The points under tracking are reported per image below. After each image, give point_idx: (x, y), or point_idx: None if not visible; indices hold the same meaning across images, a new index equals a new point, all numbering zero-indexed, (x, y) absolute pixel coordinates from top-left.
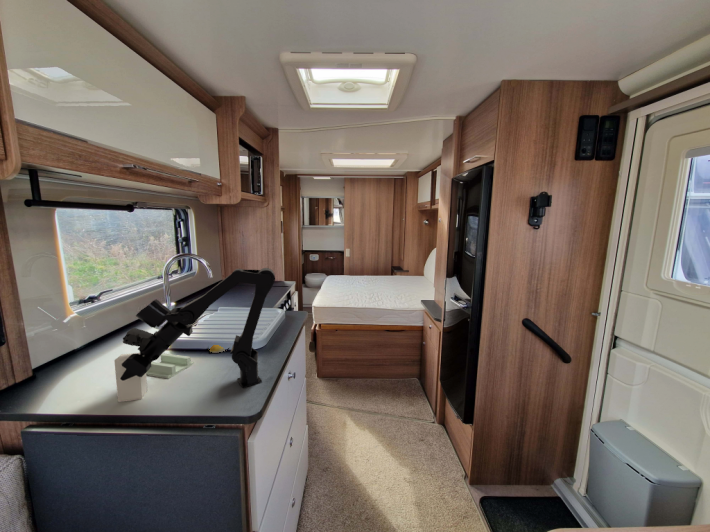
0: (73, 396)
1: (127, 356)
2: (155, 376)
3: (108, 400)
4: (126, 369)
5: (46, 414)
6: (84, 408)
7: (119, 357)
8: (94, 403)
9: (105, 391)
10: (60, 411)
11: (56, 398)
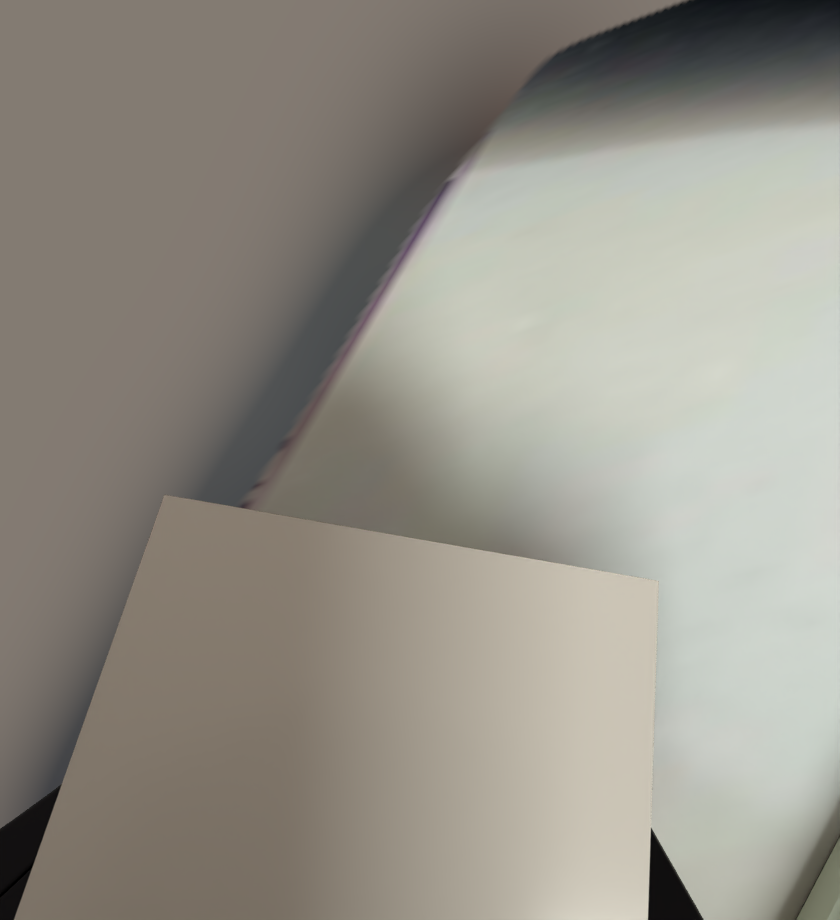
0: (613, 269)
1: (319, 896)
2: (826, 863)
3: (444, 509)
4: (7, 825)
5: (421, 220)
6: (394, 388)
7: (345, 594)
8: (440, 427)
9: (619, 444)
10: (423, 272)
11: (621, 192)
